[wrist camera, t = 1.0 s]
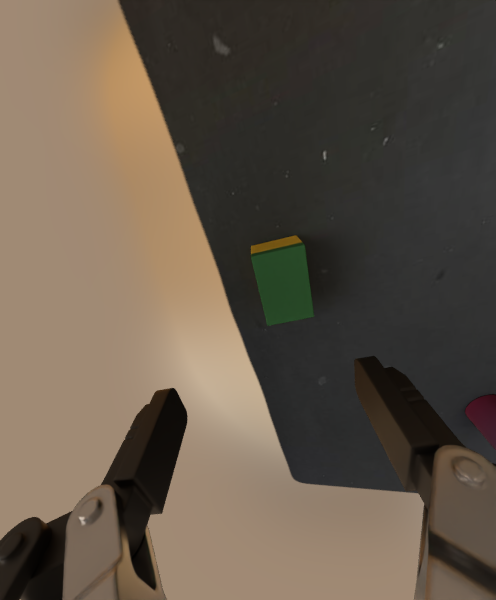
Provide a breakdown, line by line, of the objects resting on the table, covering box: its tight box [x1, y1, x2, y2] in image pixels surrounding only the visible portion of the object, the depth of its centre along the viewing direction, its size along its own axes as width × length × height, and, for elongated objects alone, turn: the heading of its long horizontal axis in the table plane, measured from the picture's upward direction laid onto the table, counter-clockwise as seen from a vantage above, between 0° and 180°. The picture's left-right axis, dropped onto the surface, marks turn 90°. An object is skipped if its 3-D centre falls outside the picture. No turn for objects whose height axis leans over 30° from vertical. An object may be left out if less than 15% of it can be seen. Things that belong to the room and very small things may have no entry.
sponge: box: [251, 235, 314, 326], centre depth 22 cm, size 7×4×4 cm, turn 14°
